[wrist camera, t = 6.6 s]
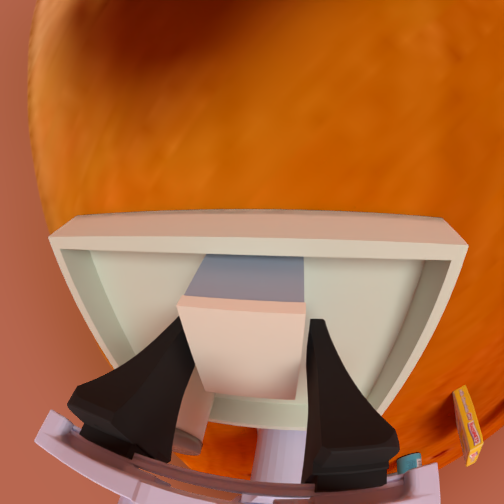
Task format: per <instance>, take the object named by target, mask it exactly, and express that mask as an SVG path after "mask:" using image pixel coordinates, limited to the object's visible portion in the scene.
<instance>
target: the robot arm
mask: <svg viewBox="0 0 504 504" xmlns="http://www.w3.org/2000/svg"><path fill="white" fill-rule="evenodd" d="M194 367H195V362H194V359H193V356H192V353H191V350H190V347H189V344H188V341H187V338H186V335H185V332H184V329H183V326H182V323H181V320H180V316H178V317H177V318H176V319H175V320H174V321H173V322H172V323H171V324H170V325H169V326H168V327H167V328H166V329H165V330H164V331H163V332H162V333H161V334H160V335H159V336H158V337H157V338H156V339H155V340H154V341H152V342H151V343H150V344H149V345H148V346H147V347H146V348H144V349H143V350H142V351H141V352H140V353H138V354H137V355H136V356H134V357H133V358H132V359H130V360H129V361H127V362H126V363H124V364H123V365H121V366H119V367H118V368H116V369H114V370H113V371H111V372H109V373H107V374H105V375H103V376H101V377H99V378H97V379H95V380H92V381H90V382H87V383H84V384H82V385H79V386H77V388H76V389H75V391H74V393H73V394H72V396H71V398H70V400H69V401H68V403H67V406H68V408H69V409H70V410H71V411H72V412H73V413H74V414H75V415H76V416H77V417H78V418H79V419H80V420H81V421H82V422H84V425H83V427H82V429H81V428H79V427H77V426H75V425H74V424H73V423H72V422H71V421H69V420H68V419H67V418H65V417H64V416H62V415H60V414H59V413H57V412H55V411H54V410H50V412H49V414H48V416H47V417H46V419H45V421H44V423H43V425H42V427H41V428H40V431H39V432H38V435H37V436H36V438H35V440H34V441H35V443H37V444H38V445H39V446H41V447H42V448H43V449H45V450H46V451H47V452H49V453H50V454H52V455H53V456H54V457H56V458H57V459H59V460H60V461H62V462H63V463H65V464H66V465H68V466H69V467H71V468H72V469H74V470H75V471H77V472H78V473H80V474H82V475H83V476H85V477H87V478H89V479H90V480H92V481H94V482H96V483H97V484H99V485H101V486H103V487H105V488H107V489H109V490H111V491H113V492H115V493H117V494H119V495H121V496H120V499H119V502H118V504H441V503H440V486H439V474H438V465H437V463H436V462H435V463H431V464H428V465H424V466H420V467H416V468H413V469H410V470H408V471H407V472H405V473H404V474H399V475H394V476H389V477H387V469H388V468H389V460H390V459H391V458H393V457H394V456H395V455H396V454H397V453H398V452H399V450H400V448H399V441H398V437H397V434H396V431H395V429H394V428H393V427H392V426H391V425H390V424H389V423H388V422H387V421H386V420H385V419H384V418H383V417H382V416H381V415H380V414H379V413H378V412H377V411H376V410H375V409H374V408H373V407H372V405H371V404H370V403H369V402H368V400H367V399H366V398H365V397H364V395H363V394H362V393H361V391H360V390H359V389H358V387H357V386H356V384H355V383H354V381H353V380H352V378H351V377H350V375H349V373H348V372H347V370H346V368H345V366H344V365H343V363H342V361H341V359H340V357H339V355H338V353H337V351H336V348H335V346H334V344H333V342H332V339H331V337H330V334H329V332H328V329H327V326H326V322H325V320H324V319H310V325H309V333H308V341H307V352H306V375H307V393H308V420H307V431H299V430H277V429H263V428H257V432H258V439H257V445H256V451H255V457H254V463H253V468H252V474H251V479H250V480H243V479H236V478H229V477H223V476H218V475H212V474H207V473H203V472H198V471H194V470H190V469H185V468H181V467H178V466H174V465H171V464H167V463H168V462H170V461H171V453H172V446H173V439H174V434H175V428H176V423H177V419H178V414H179V410H180V406H181V402H182V398H183V395H184V392H185V390H186V387H187V385H188V382H189V379H190V377H191V374H192V372H193V369H194ZM139 468H141V469H143V470H146V471H149V472H152V473H155V474H158V475H161V476H164V477H168V478H171V479H174V480H178V481H181V482H185V483H189V484H193V485H197V486H201V487H206V488H211V489H216V490H221V491H227V492H233V493H241V494H242V496H237V497H235V498H234V499H233V500H232V501H227V500H222V499H217V498H212V497H207V496H203V495H199V494H194V493H190V492H186V491H183V490H179V489H175V488H172V487H171V485H170V484H169V483H167V482H164V481H162V480H160V479H158V478H157V477H156V476H154V475H151V474H149V473H147V472H144V471H142V470H140V469H139Z"/></svg>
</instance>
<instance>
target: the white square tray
mask: <svg viewBox="0 0 504 504" xmlns="http://www.w3.org/2000/svg"><path fill="white" fill-rule="evenodd" d="M48 238H49V241H50V243H51V246H52V249H53V251H54V254H55V257H56V259H57V262H58V264H59V267H60V269H61V271H62V274H63V276H64V278H65V280H66V283H67V285H68V287H69V289H70V291H71V293H72V296H73V298H74V300H75V302H76V304H77V306H78V308H79V310H80V312H81V313H82V315H83V317H84V319H85V321H86V323H87V325H88V326H89V328H90V330H91V332H92V334H93V335H94V337H95V339H96V340H97V342H98V344H99V345H100V347H101V349H102V350H103V352H104V354H105V355H106V357H107V358H108V360H109V361H110V363H111V365H112V366H113V368H114V369H116V368H118V367H119V366H121V365H123V364H124V363H126V362H127V361H129V360H130V359H132V358H133V357H134V356H136V355H137V354H138V353H140V352H141V351H142V350H143V349H144V348H146V347H147V346H148V345H149V344H150V343H151V342H152V341H154V340H155V339H156V338H157V337H158V336H159V335H160V334H161V333H162V332H163V331H164V330H165V329H166V328H167V327H168V326H169V325H170V324H171V323H172V322H173V321H174V320H175V319H176V318H177V317H178V316H179V313H178V310H177V306H176V305H177V303H178V301H179V299H180V298H181V296H182V295H184V294H185V292H186V290H187V288H188V286H189V285H190V283H191V281H192V279H193V277H194V275H195V273H196V272H197V270H198V268H199V266H200V264H201V263H202V261H203V259H204V257H205V255H206V254H232V255H266V256H302V257H304V302H306V319H305V328H304V337H303V346H302V354H301V362H300V369H299V377H298V384H297V391H296V397H295V400H282V399H267V398H255V397H245V396H236V395H228V394H221V393H216V394H215V398H214V401H213V405H212V408H211V412H210V415H209V419H208V421H210V422H216V423H222V424H229V425H236V426H244V427H253V428H263V429H277V430H299V431H307V420H308V393H307V375H306V352H307V341H308V333H309V325H310V319H324V320H325V322H326V326H327V329H328V332H329V334H330V337H331V339H332V342H333V344H334V346H335V348H336V351H337V353H338V355H339V357H340V359H341V361H342V363H343V365H344V366H345V368H346V370H347V372H348V373H349V375H350V377H351V378H352V380H353V381H354V383H355V384H356V386H357V387H358V389H359V390H360V391H361V393H362V394H363V395H364V397H365V398H366V399H367V400H368V402H369V403H370V404H371V405H372V407H373V408H374V409H375V410H376V411H377V412H378V413H379V414H380V415H382V414H383V413H384V411H385V410H386V409H387V407H388V406H389V405H390V403H391V402H392V400H393V399H394V398H395V396H396V395H397V393H398V392H399V390H400V389H401V387H402V386H403V384H404V383H405V381H406V380H407V378H408V376H409V375H410V373H411V372H412V370H413V368H414V367H415V365H416V363H417V362H418V360H419V358H420V357H421V355H422V353H423V351H424V349H425V348H426V346H427V344H428V342H429V340H430V338H431V336H432V334H433V332H434V330H435V328H436V326H437V324H438V322H439V320H440V318H441V316H442V314H443V312H444V309H445V307H446V305H447V303H448V300H449V298H450V296H451V293H452V291H453V288H454V286H455V283H456V281H457V278H458V275H459V273H460V270H461V267H462V264H463V261H464V258H465V255H466V252H467V249H468V246H469V245H468V244H467V243H466V242H465V241H464V240H463V239H462V238H461V237H460V236H459V234H458V233H457V232H456V231H455V230H454V229H453V228H452V227H451V226H450V225H449V224H448V223H447V222H446V221H445V220H444V219H443V218H437V217H426V216H414V215H400V214H385V213H368V212H348V211H322V210H279V209H212V210H170V211H144V212H124V213H107V214H92V215H79V216H76V217H74V218H73V219H72V220H70V221H69V222H67V223H66V224H65V225H63V226H62V227H61V228H59V229H58V230H57V231H55V232H54V233H53V234H51V235H50V236H49V237H48Z"/></svg>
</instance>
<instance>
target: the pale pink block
mask: <svg viewBox="0 0 504 504" xmlns="http://www.w3.org/2000/svg"><path fill="white" fill-rule="evenodd" d="M176 306H177V310H178V313H179V316H180V320H181V323H182V326H183V329H184V332H185V335H186V338H187V341H188V344H189V347H190V350H191V353H192V356H193V359H194V362H195V365H196V367H197V370H198V373H199V376H200V378H201V381H202V384H203V386H204V389H205V391H207V392H214V393H221V394H228V395H236V396H245V397H255V398H267V399H282V400H295V397H296V391H297V384H298V377H299V369H300V362H301V354H302V346H303V337H304V328H305V319H306V302H304V257H302V256H266V255H232V254H206V255H205V257H204V259H203V261H202V263H201V264H200V266H199V268H198V270H197V272H196V273H195V275H194V277H193V279H192V281H191V283H190V285H189V286H188V288H187V290H186V292H185V294H184V295H182V296H181V298H180V299H179V301H178V303H177V305H176Z"/></svg>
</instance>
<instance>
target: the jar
mask: <svg viewBox="0 0 504 504" xmlns="http://www.w3.org/2000/svg"><path fill="white" fill-rule="evenodd" d="M215 394H216V393H214V392H207V391H205V389H204V386H203V384H202V381H201V378H200V376H199V373H198V370H197V367H196V365H195V367H194V369H193V372H192V374H191V377H190V379H189V382H188V385H187V387H186V390H185V392H184V395H183V398H182V402H181V406H180V410H179V414H178V419H177V423H176V428H175V434H174V439H173V446H172V451H173V452H177V453H181V454H186V455H199V454H200V453H201V449H202V446H203V443H202V440H203V437H204V433H205V430H206V426H207V423H208V419H209V415H210V412H211V408H212V405H213V401H214V398H215Z"/></svg>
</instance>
